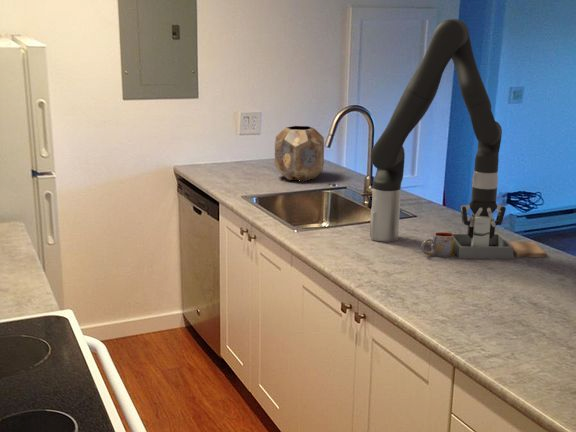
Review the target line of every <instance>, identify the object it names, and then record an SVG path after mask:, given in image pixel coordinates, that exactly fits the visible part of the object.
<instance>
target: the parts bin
mask: <svg viewBox="0 0 576 432" xmlns="http://www.w3.org/2000/svg"><path fill="white" fill-rule="evenodd" d="M452 234H453V239H454V240H455V242H454V252H453V253H454V254H455V255H456V256H457V258H458V259H513V257H514V253H513V250H514V247H513V246H512V245H511V244H510V243H509V242H510V241H508V240H507V239H506V238H505V237H504V236H503V235H502V234H501V233H494V236H492V238H489V247H471V242H472V238H470V237H469V236H468V234H467V233H452ZM462 245H465V246H462ZM466 245H468V246H466ZM469 245H470V246H469ZM490 245H492V246H490ZM493 245H494V246H493ZM495 245H497V246H495Z"/></svg>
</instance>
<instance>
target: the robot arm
mask: <svg viewBox="0 0 576 432" xmlns="http://www.w3.org/2000/svg"><path fill="white" fill-rule="evenodd" d="M472 48H473V47H472V42H471V37H470V31H469V28H468V26H467V24H466V23H465V22H464V21H463V20H460V19H457V18H453V19H452V18H451V19H445V20H443V21H441V22H440V23H439V24H438V25H437V26H436V27H435V30H434V32H433V35H432V37H431V39H430V42H429V44H428V46H427V49H426V51H425V53H424V56H423V58H422V60H421V62H420V63H419V65H418V66H417V68H416V69H415V71H414V72H413V74H412V76H411V78H410V79H409V82H408V83H407V85H406V86H405V89H404V91H403V93H402V94H401V97H400V99H399V100H398V102H397V105H396V107H395V109H394V111H393V113H392V114H391V118H390V120H389V122H388V123H387V125H386V127H385V129H384V131H383V132H382V133H381V135H380V136H379V138H378V140H377V141H376V142H375V144H374V145H373V147H372V149H371V152H370V161H371V164H372V165H373V167H375V168H376V172H375V175H374V177H373V179H372V193H371V195H372V198H371V199H372V200H371V208H370V223H369V224H370V226H369V227H370V229H369V236H370V239H371V241H379V242H386V243H387V242H394V241H397V240H398V239H399V234H400V211H401V210H400V209H401V207H400V206H401V191H402V190H401V187H402V182H403V179H404V172H405V171H404V170H405V159H406V158H405V155H406V154H405V148H404V143H405V141H406V139H407V138H408V136H409V135H410V134H411V132H412V131H413V130H414V128H415V127H416V126H417V125H418V124H419V123H420V122H421V120H422V119H423V117H424V116H425V114H426V113H427V111H428V110H429V108H430V107H431V104H432V102H433V101H434V99H435V98H436V95H437V92H438V90H439V87H440V84H441V80H442V77H443V75H444V74H443V73H444V71H445V70H446V67H447V65H448V64H449V62H450V61H451V60H452V62H453V65H454V68H455V72H456V75H457V79H458V80H457V81H458V84H459V85H458V86H459V89H460V93H461V96H462V99H463V102H464V105H465V106H466V107H465V108H466V110H467V111H468V114H469V117H470V121H471V126H472V128H473V133H474V136H475V138H476V140H477V141H478V142H477V151H476V155H475V158H474V171H473V174H472V182H471V185H472V186H471V198H470V203H469V204H466V205H464V204H462V205H460V215H461V222H462V224H464V225H465V226H467V232H466V234H468V236H469V237H470V238H473V230H474V227H473V225H474V221H475V216H489V217H490V218H491V223H490V236H489V238H492V236H494V234H496V233H495V231H496V227H497V226H502V224H503V221H504V216H505V214H506V210H507V208H506V206H504V205H503V204H499V205H498V203H497V197H498V196H497V195H498V193H497V192H498V186H499V185H498V182H499V175H498V171H499V163H500V162H499V157H500V156H499V155H500V148H501V143H502V135H503V128H502V125H501V124H500V123H499V122H497V121H496V120H495V117H494V114H493V112H492V111H493V110H492V103H491V100H490V98H489V97H490V96H489V95H488V92H487V89H486V86H485V84H484V82H483V80H482V79H483V78H482V77H481V74H480V71H479V68H478V66H477V62H476V60H475V56H474V53H473V49H472ZM469 210H471V214H470V216H469V217H470V218H469V220H468V214H467V213H468V212H469ZM495 211H497V215H496V219H495V218H494V215H493V213H494V212H495Z"/></svg>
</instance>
